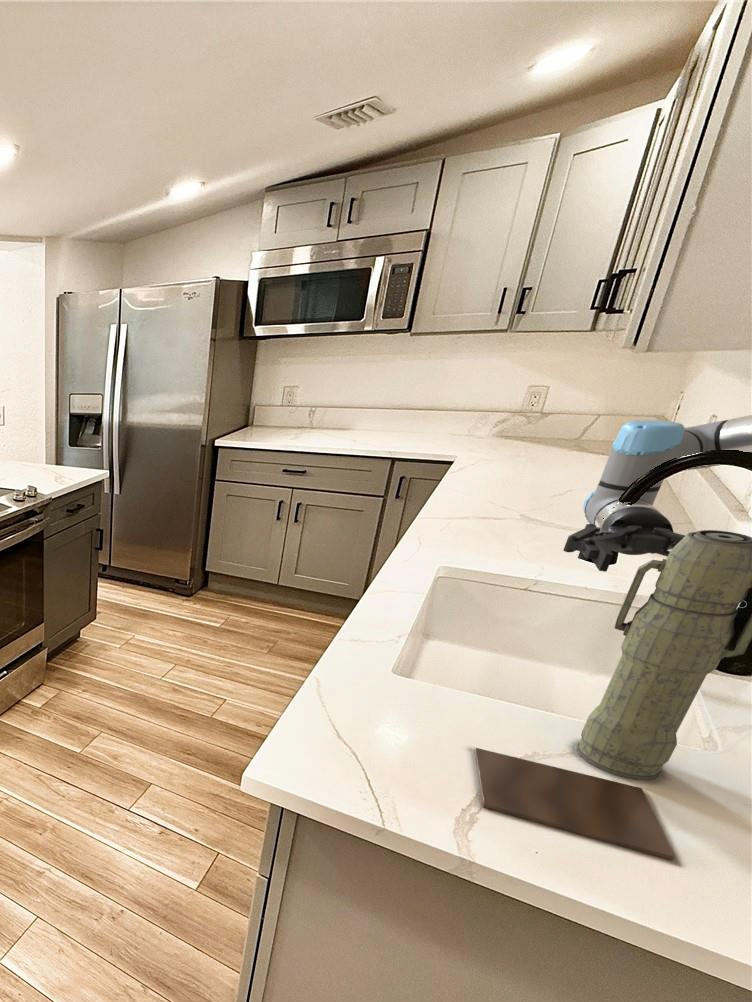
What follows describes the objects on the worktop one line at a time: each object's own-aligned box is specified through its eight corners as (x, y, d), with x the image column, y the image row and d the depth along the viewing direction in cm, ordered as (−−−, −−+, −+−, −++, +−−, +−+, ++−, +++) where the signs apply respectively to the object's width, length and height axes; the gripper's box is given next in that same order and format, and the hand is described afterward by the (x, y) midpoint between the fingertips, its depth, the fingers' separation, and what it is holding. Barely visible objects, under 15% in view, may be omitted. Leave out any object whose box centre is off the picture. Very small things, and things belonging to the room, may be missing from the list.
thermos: (676, 794, 84) (808, 555, 69) (559, 757, 92) (655, 536, 77) (676, 763, 89) (798, 535, 75) (565, 730, 97) (657, 519, 83)
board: (640, 791, 85) (641, 787, 84) (672, 860, 74) (674, 857, 74) (474, 750, 94) (475, 747, 94) (482, 807, 84) (484, 803, 84)
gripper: (733, 559, 97) (795, 611, 82) (526, 538, 111) (546, 579, 95) (756, 514, 94) (825, 559, 79) (540, 498, 107) (563, 533, 92)
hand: (673, 570), depth 87 cm, fingers open, 13 cm apart
